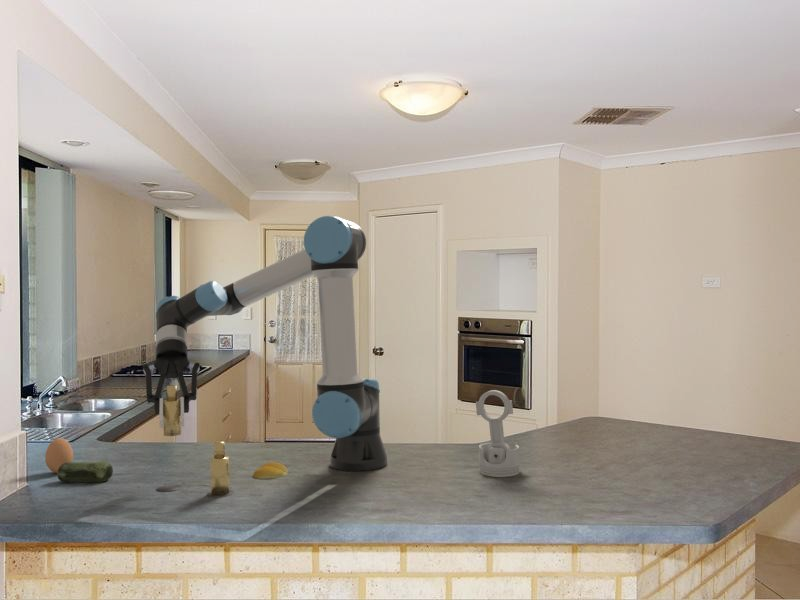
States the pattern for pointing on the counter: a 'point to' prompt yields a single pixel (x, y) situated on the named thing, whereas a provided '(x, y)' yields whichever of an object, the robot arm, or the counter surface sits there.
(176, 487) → the board
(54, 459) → the egg
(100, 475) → the vegetable
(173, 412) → the brass bottle
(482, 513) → the counter surface
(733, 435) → the counter surface
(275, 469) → the bread roll
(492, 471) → the engine component
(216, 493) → the gold bottle
